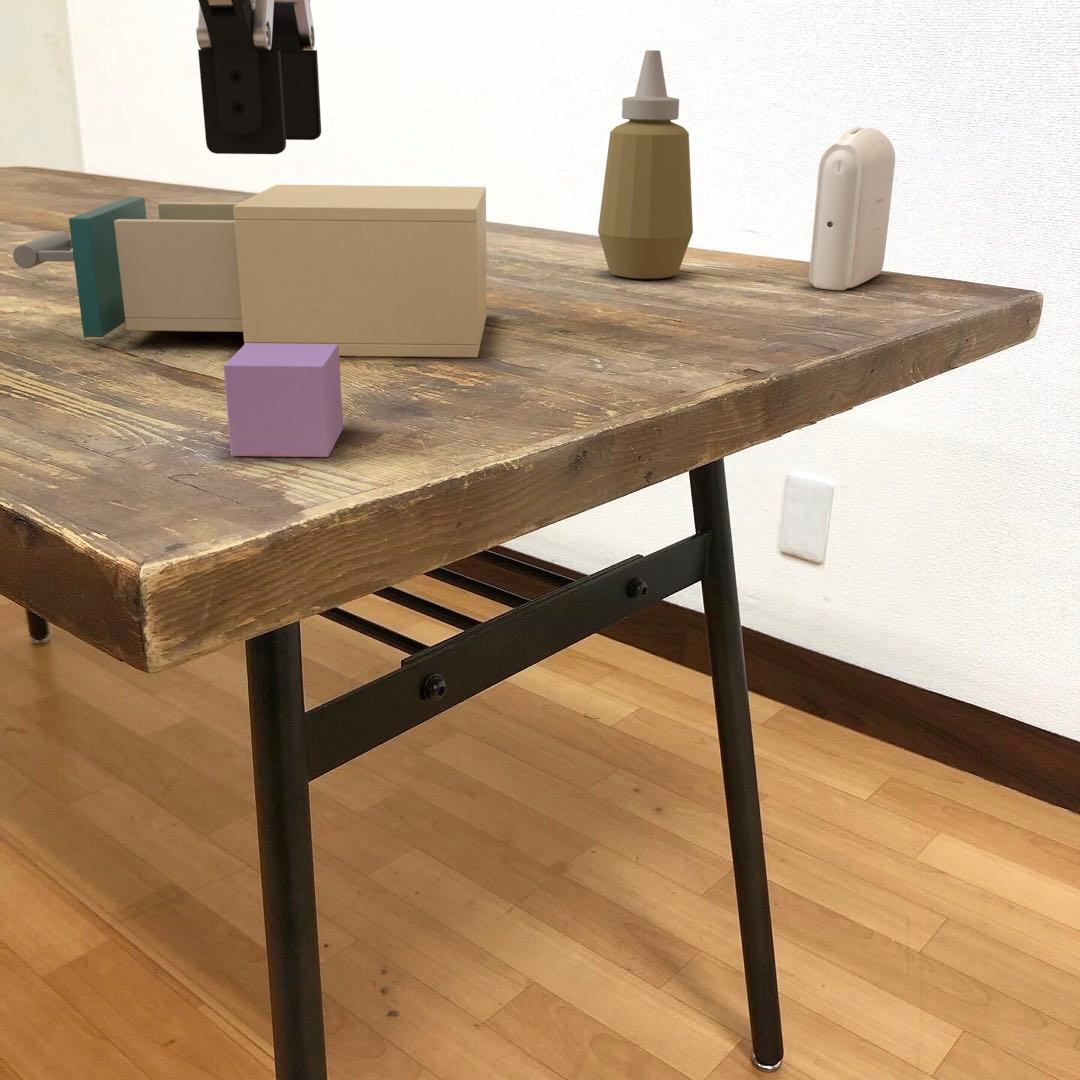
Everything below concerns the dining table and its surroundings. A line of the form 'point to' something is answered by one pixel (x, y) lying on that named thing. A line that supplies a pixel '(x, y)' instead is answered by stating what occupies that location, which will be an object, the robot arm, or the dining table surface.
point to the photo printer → (852, 209)
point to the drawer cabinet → (365, 268)
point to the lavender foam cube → (284, 400)
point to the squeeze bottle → (647, 183)
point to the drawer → (149, 266)
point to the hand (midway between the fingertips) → (268, 143)
